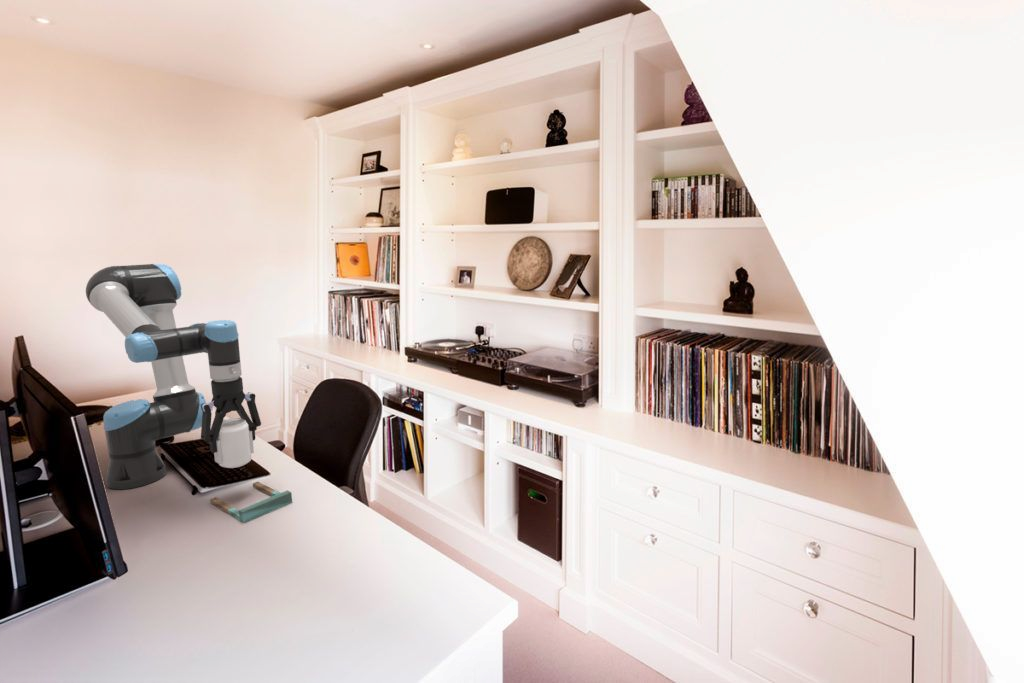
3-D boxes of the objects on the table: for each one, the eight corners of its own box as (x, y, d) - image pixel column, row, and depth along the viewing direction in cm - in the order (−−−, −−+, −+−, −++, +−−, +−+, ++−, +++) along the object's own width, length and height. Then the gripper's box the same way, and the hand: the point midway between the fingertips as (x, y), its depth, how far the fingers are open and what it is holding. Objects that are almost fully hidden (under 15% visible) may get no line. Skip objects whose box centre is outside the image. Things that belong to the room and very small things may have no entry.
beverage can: (238, 470, 147) (234, 428, 144) (212, 468, 148) (207, 426, 146) (257, 458, 155) (254, 418, 152) (232, 455, 156) (228, 416, 154)
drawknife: (210, 503, 150) (209, 493, 149) (258, 485, 160) (257, 475, 160) (243, 523, 139) (242, 512, 138) (292, 502, 150) (291, 492, 149)
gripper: (191, 389, 136) (201, 474, 141) (270, 372, 152) (277, 448, 157) (178, 384, 140) (188, 466, 145) (256, 368, 157) (263, 442, 162)
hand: (234, 457), depth 151 cm, fingers closed on beverage can, 8 cm apart
